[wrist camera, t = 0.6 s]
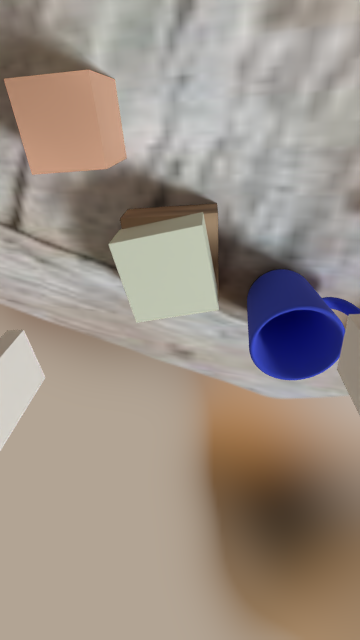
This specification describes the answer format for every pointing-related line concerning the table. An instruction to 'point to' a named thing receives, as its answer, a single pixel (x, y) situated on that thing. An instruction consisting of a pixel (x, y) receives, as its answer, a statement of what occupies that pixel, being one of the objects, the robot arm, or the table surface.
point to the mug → (293, 326)
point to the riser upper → (166, 268)
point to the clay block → (68, 121)
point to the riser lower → (164, 213)
